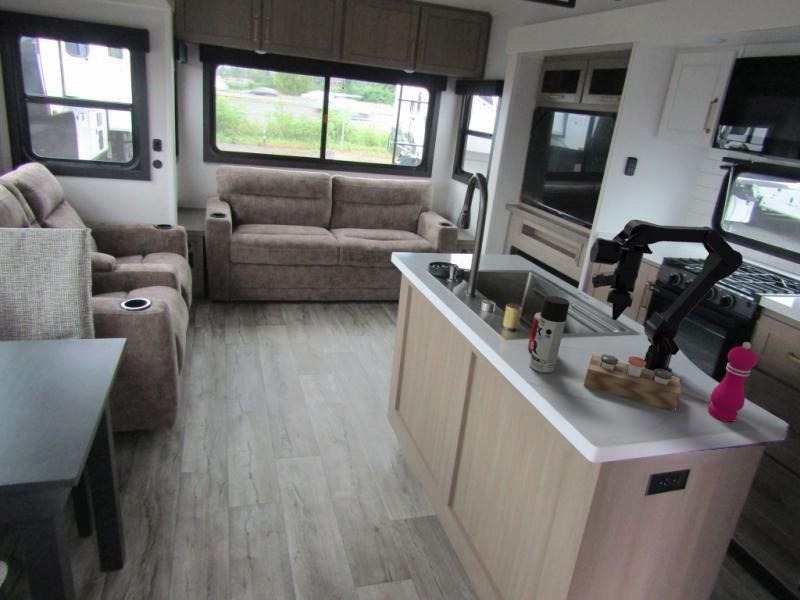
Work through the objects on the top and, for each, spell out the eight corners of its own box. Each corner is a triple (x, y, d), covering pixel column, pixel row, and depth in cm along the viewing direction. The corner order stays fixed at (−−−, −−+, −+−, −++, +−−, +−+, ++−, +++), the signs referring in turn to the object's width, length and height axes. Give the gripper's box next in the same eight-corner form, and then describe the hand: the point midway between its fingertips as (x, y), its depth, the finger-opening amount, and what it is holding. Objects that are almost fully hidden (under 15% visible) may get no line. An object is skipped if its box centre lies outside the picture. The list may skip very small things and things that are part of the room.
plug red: (639, 382, 145) (646, 359, 143) (639, 389, 142) (646, 365, 139) (622, 378, 147) (629, 355, 145) (621, 384, 143) (628, 361, 141)
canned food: (555, 360, 157) (564, 324, 154) (527, 354, 159) (535, 319, 155) (554, 349, 165) (562, 315, 161) (527, 344, 166) (534, 310, 162)
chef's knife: (718, 411, 141) (723, 408, 142) (719, 408, 140) (724, 404, 142) (648, 377, 155) (654, 375, 156) (649, 374, 154) (655, 371, 156)
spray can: (527, 361, 155) (541, 293, 148) (551, 363, 155) (566, 296, 148) (531, 372, 149) (546, 302, 142) (556, 375, 149) (573, 305, 142)
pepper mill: (724, 424, 133) (752, 350, 127) (699, 409, 140) (724, 336, 133) (744, 421, 136) (772, 347, 129) (718, 405, 142) (744, 334, 136)
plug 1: (612, 380, 148) (618, 357, 146) (611, 386, 145) (617, 363, 142) (596, 375, 150) (602, 353, 147) (594, 382, 146) (600, 359, 144)
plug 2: (664, 395, 144) (672, 371, 141) (664, 402, 140) (672, 378, 138) (647, 390, 145) (654, 367, 143) (647, 397, 141) (654, 373, 139)
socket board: (673, 394, 145) (679, 377, 144) (674, 411, 137) (680, 394, 135) (587, 370, 153) (592, 354, 151) (583, 385, 144) (588, 368, 143)
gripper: (600, 253, 162) (588, 303, 167) (594, 268, 145) (580, 322, 151) (641, 262, 158) (627, 312, 163) (639, 277, 142) (623, 333, 147)
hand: (614, 319), depth 156 cm, fingers closed
